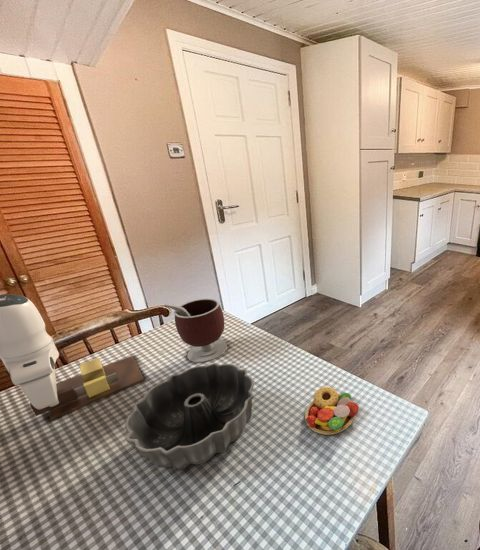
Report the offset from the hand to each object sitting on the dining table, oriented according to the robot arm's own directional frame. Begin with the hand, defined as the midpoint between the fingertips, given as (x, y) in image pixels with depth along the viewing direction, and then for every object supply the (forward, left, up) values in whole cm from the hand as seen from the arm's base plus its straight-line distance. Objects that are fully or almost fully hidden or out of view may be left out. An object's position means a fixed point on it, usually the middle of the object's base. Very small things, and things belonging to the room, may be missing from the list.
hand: (54, 400), depth 79 cm
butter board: (+8, +5, -3) cm, 10 cm away
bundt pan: (+24, -34, -4) cm, 42 cm away
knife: (+4, 0, -2) cm, 4 cm away
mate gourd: (+36, -1, -4) cm, 37 cm away
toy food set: (+49, -53, -4) cm, 73 cm away
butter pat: (+9, -1, -2) cm, 9 cm away
